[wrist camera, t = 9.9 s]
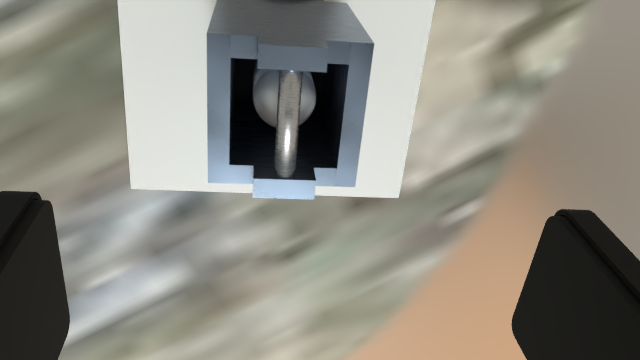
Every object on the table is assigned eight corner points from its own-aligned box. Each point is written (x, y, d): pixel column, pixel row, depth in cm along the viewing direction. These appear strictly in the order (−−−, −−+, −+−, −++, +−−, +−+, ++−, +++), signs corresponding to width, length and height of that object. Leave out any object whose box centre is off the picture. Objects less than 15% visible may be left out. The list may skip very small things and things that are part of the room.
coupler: (218, -7, 22) (204, 41, 16) (347, 2, 22) (380, 52, 16) (218, 114, 24) (205, 196, 18) (334, 119, 25) (359, 200, 19)
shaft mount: (113, -179, 22) (26, -209, 14) (450, -140, 24) (554, -145, 16) (136, 174, 30) (89, 294, 21) (392, 184, 32) (441, 298, 23)
